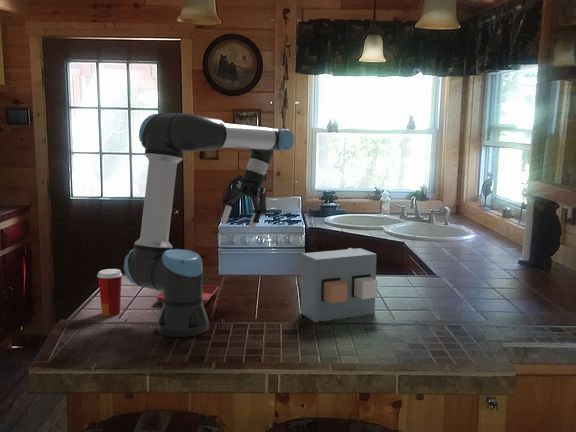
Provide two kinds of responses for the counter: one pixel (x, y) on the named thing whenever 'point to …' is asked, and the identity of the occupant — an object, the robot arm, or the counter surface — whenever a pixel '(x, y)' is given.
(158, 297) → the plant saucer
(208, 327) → the robot arm
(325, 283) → the rust button
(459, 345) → the counter surface
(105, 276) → the paper cup
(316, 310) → the box
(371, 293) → the cream button
